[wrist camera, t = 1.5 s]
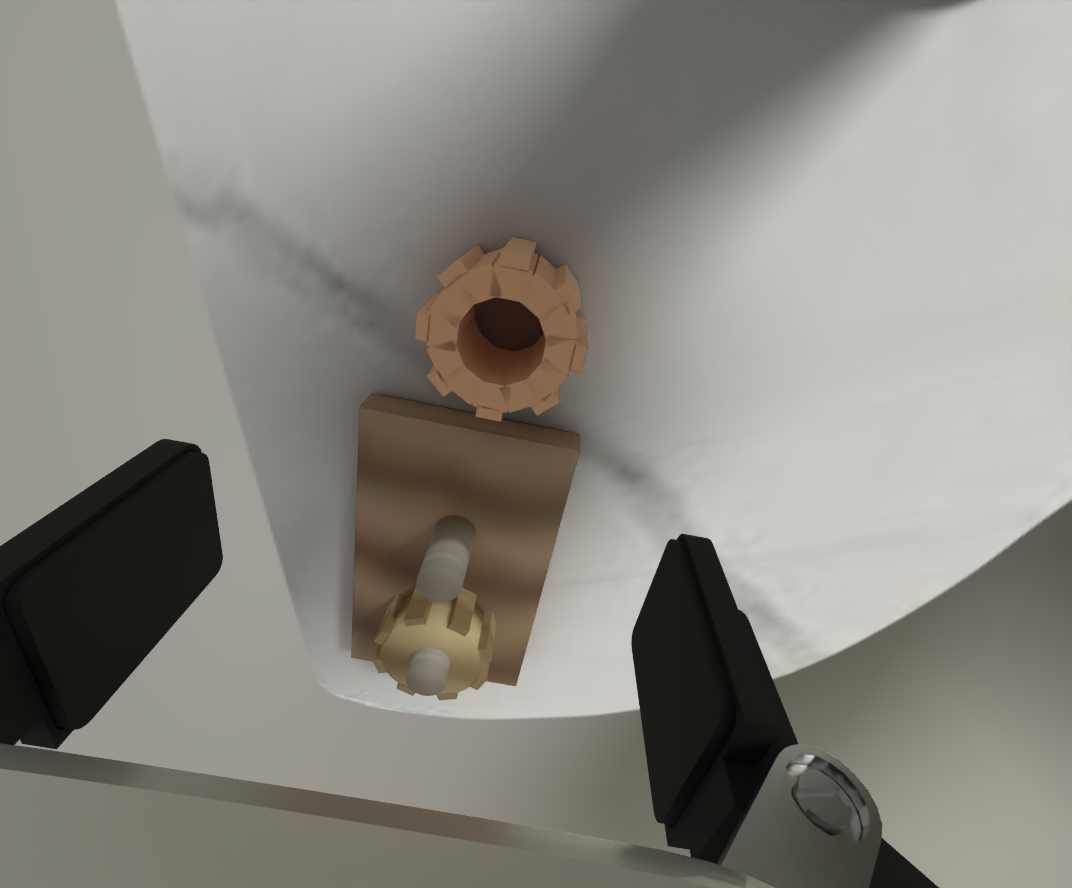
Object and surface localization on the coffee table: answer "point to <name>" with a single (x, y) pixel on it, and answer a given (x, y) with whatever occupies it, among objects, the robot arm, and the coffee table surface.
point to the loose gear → (477, 363)
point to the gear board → (463, 484)
